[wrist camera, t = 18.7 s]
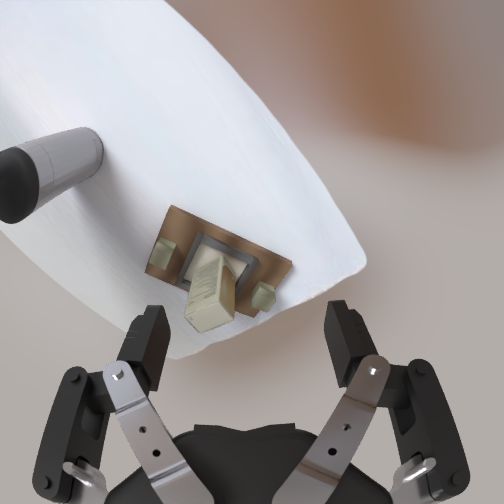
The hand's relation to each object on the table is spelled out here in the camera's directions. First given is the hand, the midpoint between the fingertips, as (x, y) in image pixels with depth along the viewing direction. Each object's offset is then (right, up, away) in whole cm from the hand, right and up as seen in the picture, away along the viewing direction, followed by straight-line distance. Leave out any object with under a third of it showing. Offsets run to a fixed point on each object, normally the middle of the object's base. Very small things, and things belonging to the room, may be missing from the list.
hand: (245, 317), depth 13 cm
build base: (-6, +1, +36) cm, 37 cm away
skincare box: (-6, 0, +35) cm, 36 cm away
